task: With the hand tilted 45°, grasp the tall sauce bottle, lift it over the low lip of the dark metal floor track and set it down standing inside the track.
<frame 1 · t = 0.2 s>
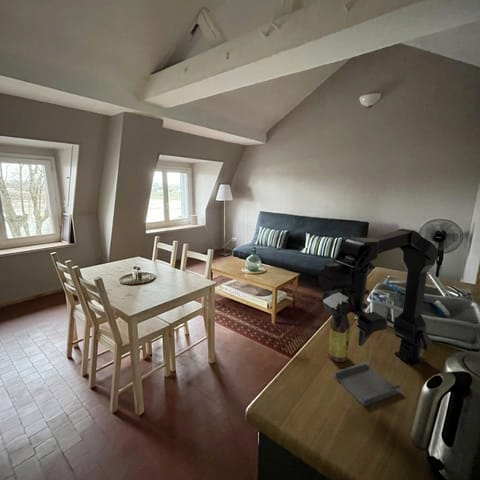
hand: (348, 335, 75), 15 cm above the worktop, tool pointing down, fingers open, 9 cm apart
floor track: (365, 384, 77), on the worktop
sauce bottle: (337, 357, 89), on the worktop
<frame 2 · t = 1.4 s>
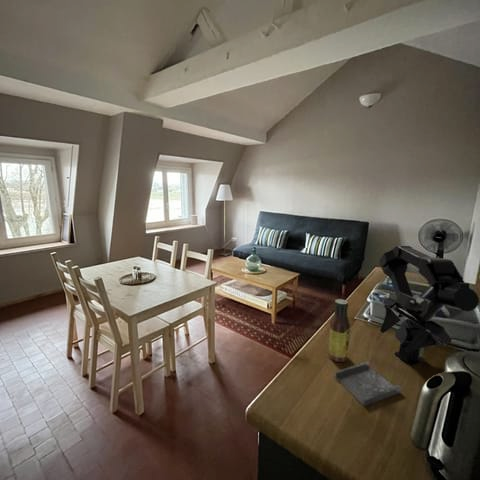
hand: (393, 341, 74), 14 cm above the worktop, tool tilted 45°, fingers open, 9 cm apart
nothing on the worktop moved.
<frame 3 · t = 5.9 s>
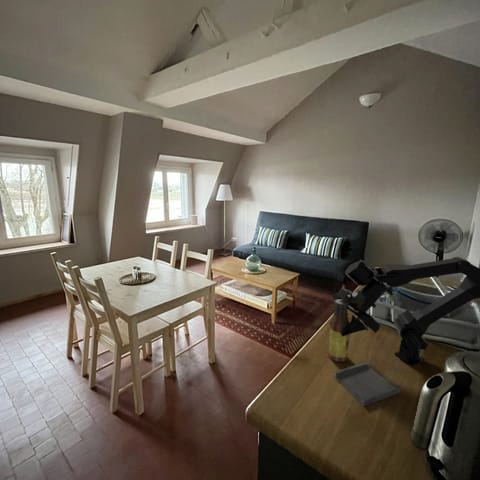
hand: (335, 329, 86), 10 cm above the worktop, tool tilted 45°, fingers closed on sauce bottle, 6 cm apart
sauce bottle: (337, 357, 89), on the worktop, touching gripper
when the fingers open (11 cm above the worktop, at t = 9.3 s): sauce bottle stays where it is, resting on floor track.
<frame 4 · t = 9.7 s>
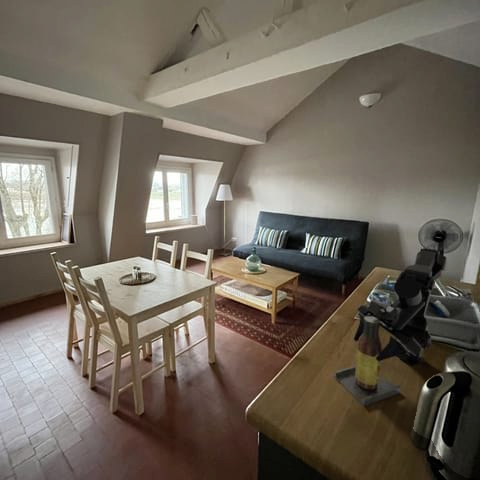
hand: (365, 349, 74), 12 cm above the worktop, tool tilted 45°, fingers open, 9 cm apart
sauce bottle: (365, 383, 77), resting on floor track
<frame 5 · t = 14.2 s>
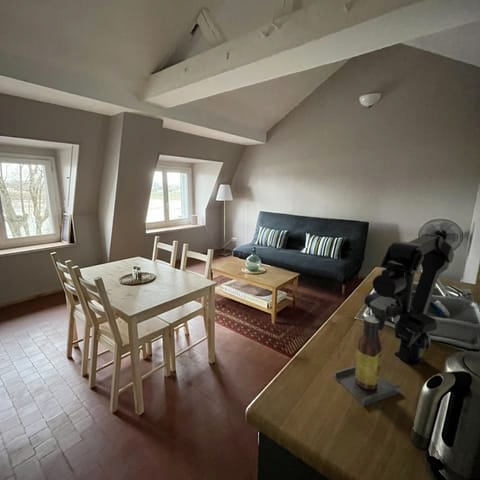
hand: (393, 337, 77), 13 cm above the worktop, tool pointing down, fingers open, 9 cm apart
nothing on the worktop moved.
at the end: sauce bottle inside the target area on the floor track (0.3 cm from its centre), point 0.2 cm above the floor track's base; sauce bottle tilted 0°; the gripper is holding nothing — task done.
